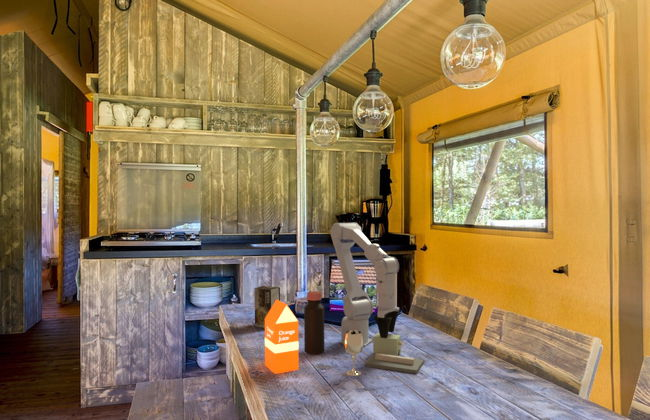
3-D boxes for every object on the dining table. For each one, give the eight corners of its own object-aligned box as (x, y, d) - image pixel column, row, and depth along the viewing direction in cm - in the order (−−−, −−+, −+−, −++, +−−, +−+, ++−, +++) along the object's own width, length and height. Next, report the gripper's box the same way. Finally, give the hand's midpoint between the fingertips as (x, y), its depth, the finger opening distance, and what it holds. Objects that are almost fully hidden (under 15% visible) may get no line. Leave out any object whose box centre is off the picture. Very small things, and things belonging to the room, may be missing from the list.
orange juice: (274, 374, 129) (274, 305, 129) (264, 364, 137) (264, 300, 137) (299, 369, 133) (298, 303, 133) (287, 360, 140) (287, 297, 140)
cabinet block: (373, 354, 146) (373, 336, 146) (377, 350, 151) (377, 332, 151) (399, 358, 142) (399, 339, 142) (403, 353, 147) (403, 335, 147)
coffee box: (281, 326, 182) (281, 287, 182) (271, 329, 177) (271, 289, 177) (264, 323, 187) (264, 285, 187) (253, 326, 182) (253, 287, 182)
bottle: (327, 350, 151) (327, 291, 151) (319, 356, 144) (318, 295, 144) (310, 347, 153) (309, 290, 153) (300, 353, 147) (300, 293, 147)
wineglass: (365, 371, 131) (365, 330, 131) (360, 378, 126) (360, 335, 126) (347, 368, 133) (346, 329, 133) (341, 375, 127) (341, 334, 127)
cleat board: (364, 365, 135) (364, 357, 135) (374, 356, 144) (374, 348, 144) (416, 373, 129) (416, 365, 129) (423, 362, 138) (423, 354, 138)
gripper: (392, 298, 139) (393, 341, 138) (404, 291, 152) (404, 330, 152) (371, 297, 141) (371, 339, 141) (384, 289, 155) (384, 328, 155)
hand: (387, 334), depth 147 cm, fingers open, 7 cm apart
